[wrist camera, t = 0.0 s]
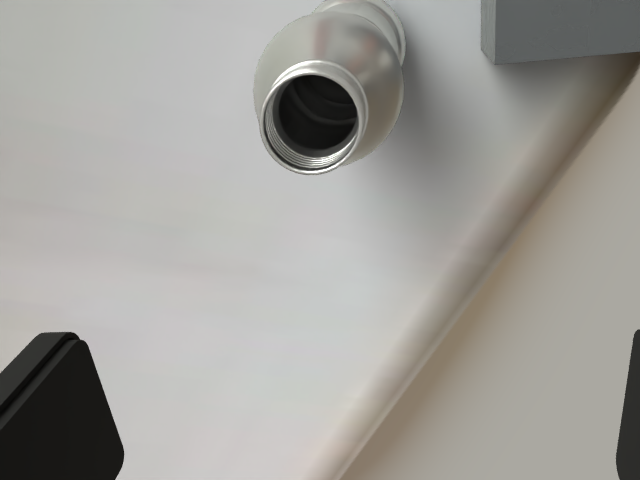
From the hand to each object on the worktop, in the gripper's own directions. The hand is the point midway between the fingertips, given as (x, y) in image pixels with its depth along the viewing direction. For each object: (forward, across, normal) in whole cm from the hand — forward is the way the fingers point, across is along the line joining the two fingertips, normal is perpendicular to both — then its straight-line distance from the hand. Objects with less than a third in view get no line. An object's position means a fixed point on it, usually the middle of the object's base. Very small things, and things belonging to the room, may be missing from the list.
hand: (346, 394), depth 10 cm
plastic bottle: (+31, +2, -2) cm, 32 cm away
